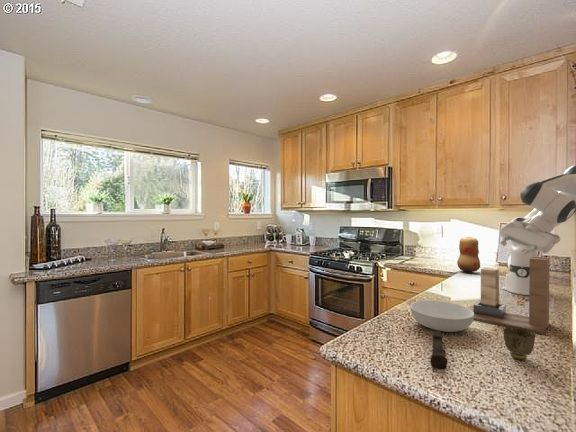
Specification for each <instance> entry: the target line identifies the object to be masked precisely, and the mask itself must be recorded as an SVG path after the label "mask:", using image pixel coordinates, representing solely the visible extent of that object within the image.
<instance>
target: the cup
mask: <svg viewBox="0 0 576 432" xmlns="http://www.w3.org/2000/svg"><path fill="white" fill-rule="evenodd" d="M502 331H503V332H502V333H503V339H504V340H503V341H504V344H505V347H506V349H507V350H508V351H510V356H511V357H512V358H513V359H515V360H518V361H525V360H527V358H528V357H527V356H528V355H530V354H531V353H532V352H533V351H534V347H535V342H536V341H535V340H536V334H537V333H534V332H528V329H525V330H524V329H523V328H521V327H519V328H517V329H516V328H515V327H514V326H513V328H511V327H510V326H508V327H507V326H506V327H502Z"/></svg>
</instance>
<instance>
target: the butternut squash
mask: <svg viewBox="0 0 576 432" xmlns="http://www.w3.org/2000/svg"><path fill="white" fill-rule="evenodd" d="M458 244H459V245H458V246H459V249H458V250H459V257H458V259H457V261H456V263H457V267H458V268H459V270H461V271H464V272H465V273H468V274H469V273H473V272H474V273H475V272H477V271H478V270H480V269H481V260H480V258H479V253H480V252H479V241H478V239H477V238H476V237H474V236H464V237H461V238H460V239H459V243H458Z"/></svg>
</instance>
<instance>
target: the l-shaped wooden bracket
mask: <svg viewBox="0 0 576 432" xmlns="http://www.w3.org/2000/svg"><path fill="white" fill-rule="evenodd" d="M528 296H529V297H528V299H529V300H528V302H529V305H528V308H529V309H528V316H525V315H521V314H515V313H510V312H507V304H505V303H500V302H499V308H493V307H488V306H482V305H481V299H478V300H477V301H476V302H475V303H473V305H470V306H469V307H468V308H469V309H470V310H472V311H473V312H474V319H473V321H477V322H481V323H485V324H486V323H487V324H492V325H497V326H500V327H504V328H506V326H507V328H508V326H510V327H511V328H513V326H514V327H515V328H516V329H517V328H519V327H521V328H523V329H524V330H525V329H528V332H529V333H532V332H534V334H537V335H543V336H544V335H545V331H546V329H547V328H548V326H549V323H550V257H544V256H537V257H534V256H532V257H531V258H530V280H529V295H528Z"/></svg>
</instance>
